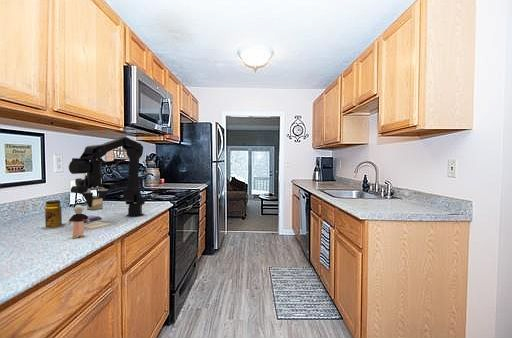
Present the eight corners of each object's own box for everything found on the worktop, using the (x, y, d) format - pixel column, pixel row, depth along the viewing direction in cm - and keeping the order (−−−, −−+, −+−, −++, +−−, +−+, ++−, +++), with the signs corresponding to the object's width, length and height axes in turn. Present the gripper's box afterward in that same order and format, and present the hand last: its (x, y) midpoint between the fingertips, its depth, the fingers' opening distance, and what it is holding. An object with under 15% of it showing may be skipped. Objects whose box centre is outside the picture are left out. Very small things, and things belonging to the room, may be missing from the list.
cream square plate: (99, 221, 138) (99, 220, 138) (116, 223, 133) (116, 222, 133) (72, 227, 126) (72, 226, 126) (90, 229, 121) (90, 228, 121)
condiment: (41, 229, 123) (40, 202, 122) (49, 225, 131) (48, 199, 130) (60, 228, 125) (60, 201, 125) (67, 223, 133) (66, 198, 133)
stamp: (102, 209, 131) (102, 195, 131) (93, 210, 127) (93, 197, 126) (96, 208, 133) (95, 195, 132) (87, 209, 129) (86, 196, 128)
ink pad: (91, 218, 146) (91, 215, 146) (101, 219, 143) (101, 216, 143) (72, 222, 137) (72, 218, 137) (82, 223, 134) (82, 220, 134)
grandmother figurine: (71, 239, 106) (70, 206, 106) (66, 238, 108) (65, 205, 108) (92, 235, 113) (91, 204, 112) (87, 233, 115) (86, 203, 114)
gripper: (101, 171, 141) (101, 202, 141) (62, 173, 124) (63, 208, 124) (116, 172, 136) (117, 204, 137) (78, 174, 119) (79, 210, 120)
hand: (95, 206), depth 130 cm, fingers closed on stamp, 4 cm apart
